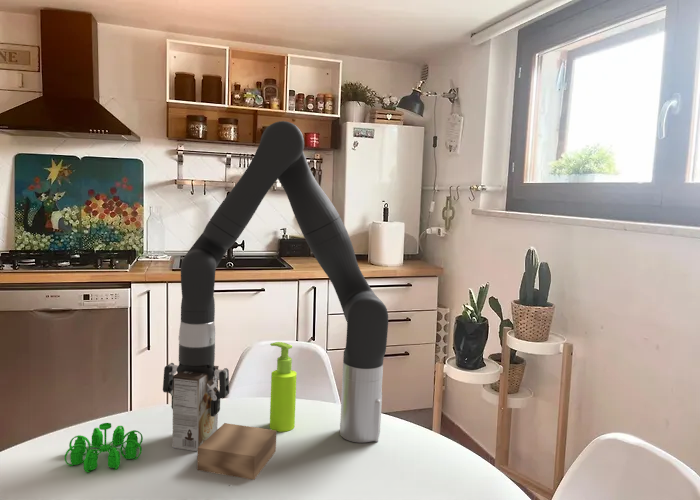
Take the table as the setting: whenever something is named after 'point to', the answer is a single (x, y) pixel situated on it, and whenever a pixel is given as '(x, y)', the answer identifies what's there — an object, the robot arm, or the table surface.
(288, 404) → the soap dispenser
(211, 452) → the walnut block
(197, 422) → the coffee box
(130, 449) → the chandelier
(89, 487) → the table surface
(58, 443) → the table surface
